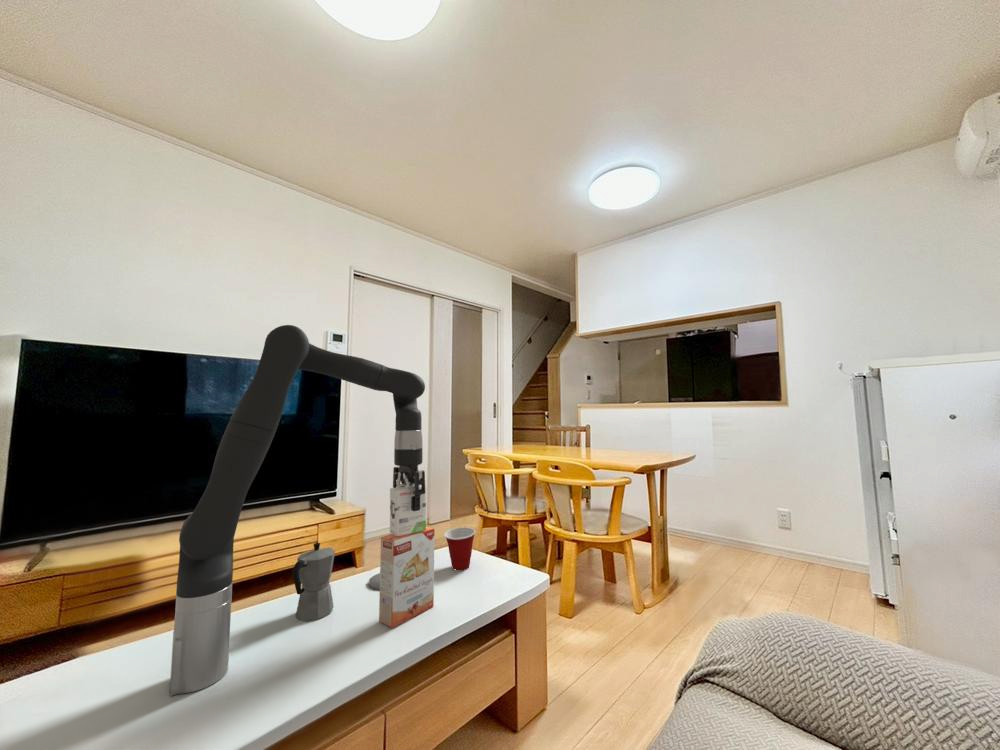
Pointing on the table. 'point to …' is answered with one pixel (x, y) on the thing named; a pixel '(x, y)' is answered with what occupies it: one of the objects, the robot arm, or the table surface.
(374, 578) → the glossy grey dome
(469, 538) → the plastic cup
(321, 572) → the coffeepot
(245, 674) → the table surface
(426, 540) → the cracker box
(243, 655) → the table surface
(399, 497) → the ink box
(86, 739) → the table surface
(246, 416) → the robot arm
